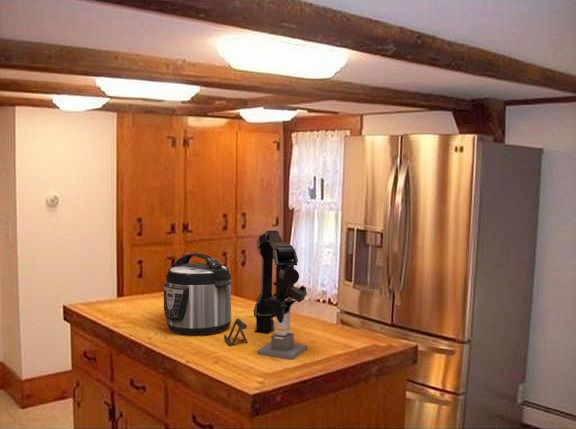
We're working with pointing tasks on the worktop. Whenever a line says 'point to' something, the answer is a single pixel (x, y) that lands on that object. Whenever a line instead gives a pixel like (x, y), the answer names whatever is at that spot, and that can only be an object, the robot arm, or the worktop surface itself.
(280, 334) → the steel column
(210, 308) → the pressure cooker
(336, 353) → the worktop surface
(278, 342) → the grey socket plate
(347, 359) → the worktop surface
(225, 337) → the portable electronic device stand
